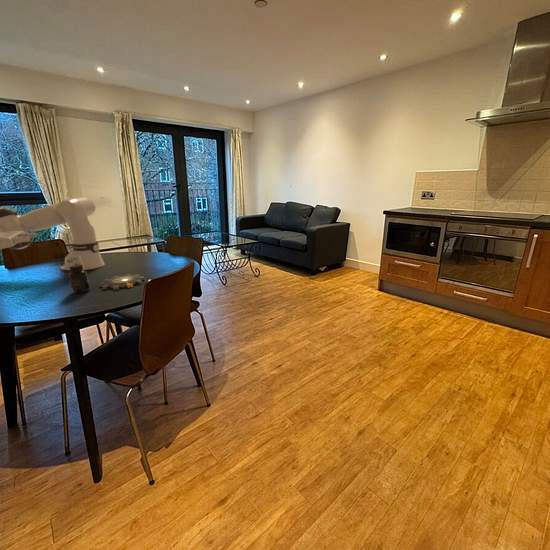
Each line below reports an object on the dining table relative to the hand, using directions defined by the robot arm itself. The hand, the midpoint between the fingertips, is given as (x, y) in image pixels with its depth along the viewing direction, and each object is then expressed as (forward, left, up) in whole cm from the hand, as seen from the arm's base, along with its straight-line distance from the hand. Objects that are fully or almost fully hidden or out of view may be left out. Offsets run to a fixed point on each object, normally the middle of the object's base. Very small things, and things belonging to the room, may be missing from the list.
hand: (32, 237), depth 121 cm
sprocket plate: (+22, +19, -26) cm, 39 cm away
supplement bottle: (+10, +7, -26) cm, 29 cm away
